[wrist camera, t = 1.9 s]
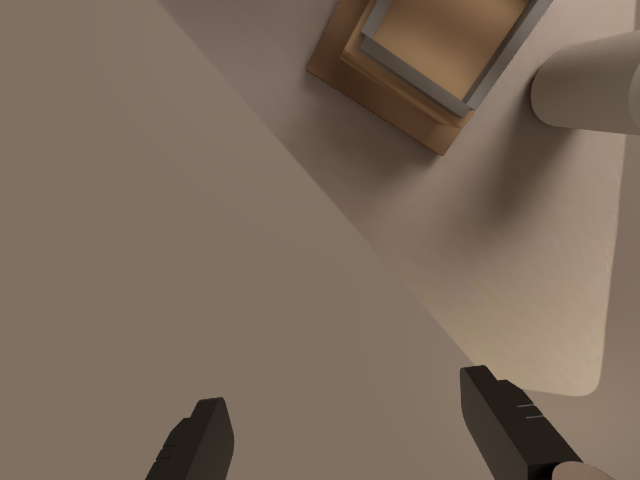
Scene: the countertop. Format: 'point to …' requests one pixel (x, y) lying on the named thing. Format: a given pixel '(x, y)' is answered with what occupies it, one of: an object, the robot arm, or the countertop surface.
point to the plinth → (422, 58)
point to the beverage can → (592, 86)
